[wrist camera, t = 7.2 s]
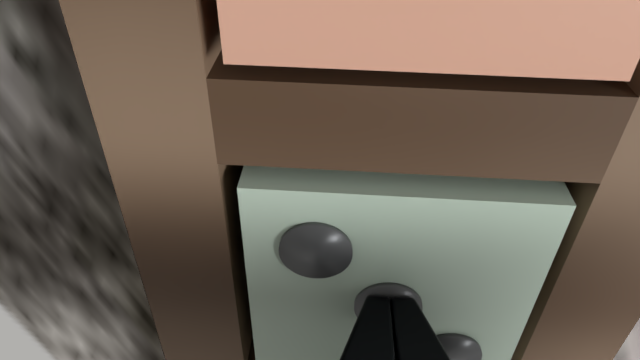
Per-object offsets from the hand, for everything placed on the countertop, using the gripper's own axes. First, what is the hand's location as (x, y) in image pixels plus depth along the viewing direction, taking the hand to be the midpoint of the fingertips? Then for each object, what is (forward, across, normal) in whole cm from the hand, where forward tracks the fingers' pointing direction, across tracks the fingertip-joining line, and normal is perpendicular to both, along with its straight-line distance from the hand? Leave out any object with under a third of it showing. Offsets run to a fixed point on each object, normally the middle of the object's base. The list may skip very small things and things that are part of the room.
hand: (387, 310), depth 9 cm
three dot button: (+3, 0, 0) cm, 3 cm away
